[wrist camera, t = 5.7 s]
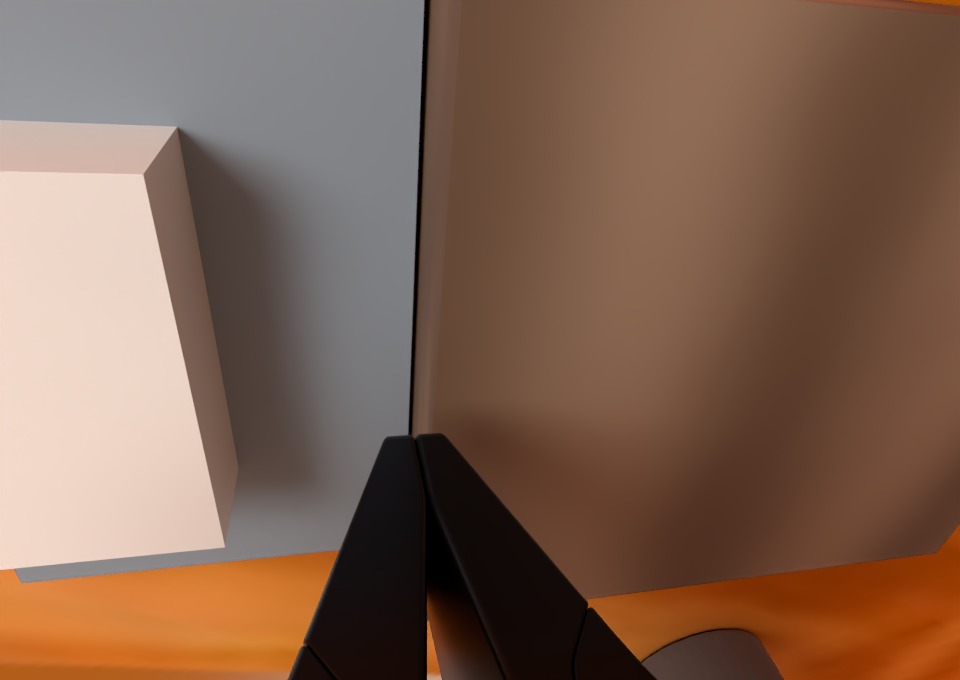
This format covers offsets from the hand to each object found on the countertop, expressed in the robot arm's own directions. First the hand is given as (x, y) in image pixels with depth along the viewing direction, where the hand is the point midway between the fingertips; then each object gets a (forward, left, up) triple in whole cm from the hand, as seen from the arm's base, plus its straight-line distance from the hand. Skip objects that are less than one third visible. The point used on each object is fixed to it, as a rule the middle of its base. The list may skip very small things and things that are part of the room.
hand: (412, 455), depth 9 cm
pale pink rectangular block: (+6, 0, -1) cm, 6 cm away
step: (-7, 0, -4) cm, 8 cm away
